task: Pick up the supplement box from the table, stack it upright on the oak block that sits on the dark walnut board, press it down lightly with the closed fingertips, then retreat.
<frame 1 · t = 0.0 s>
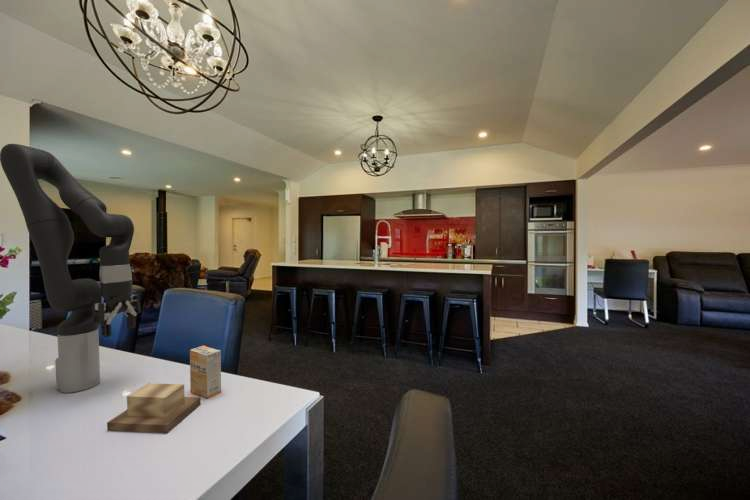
hand: (119, 332, 97), 17 cm above the table, tool pointing down, fingers open, 8 cm apart
oak block: (157, 409, 82), point 2 cm above the table, touching board
board: (157, 416, 82), on the table
supplement box: (205, 393, 95), on the table
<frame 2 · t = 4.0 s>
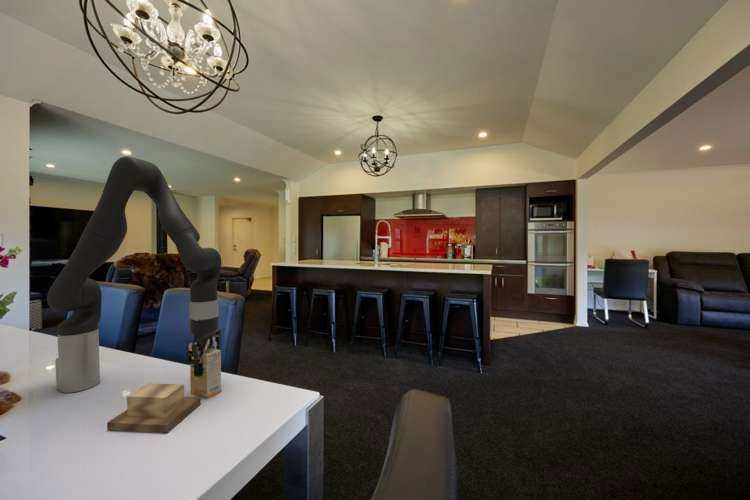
hand: (205, 370, 94), 7 cm above the table, tool pointing down, fingers closed on supplement box, 6 cm apart
supplement box: (205, 393, 95), on the table, touching gripper
everything else where it was.
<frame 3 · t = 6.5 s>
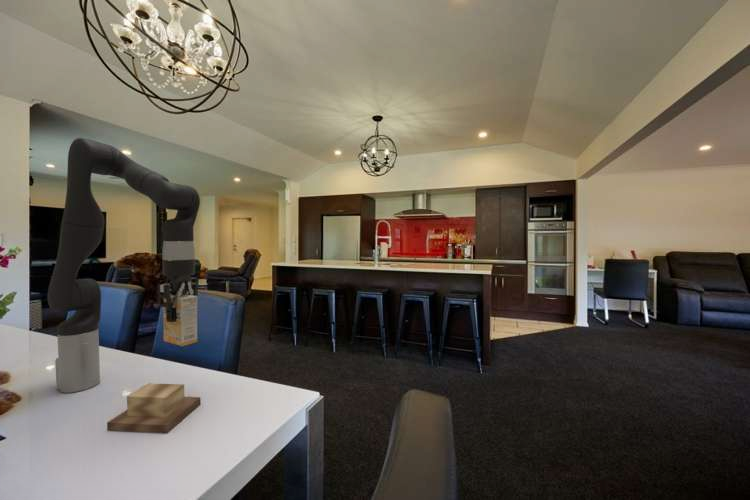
hand: (179, 318, 87), 24 cm above the table, tool pointing down, fingers closed on supplement box, 6 cm apart
supplement box: (180, 342, 87), point 17 cm above the table, touching gripper
everything else where it was.
when the fingers open (15 cm above the table, at t = 9.2 s): supplement box drops 1 cm, resting on oak block.
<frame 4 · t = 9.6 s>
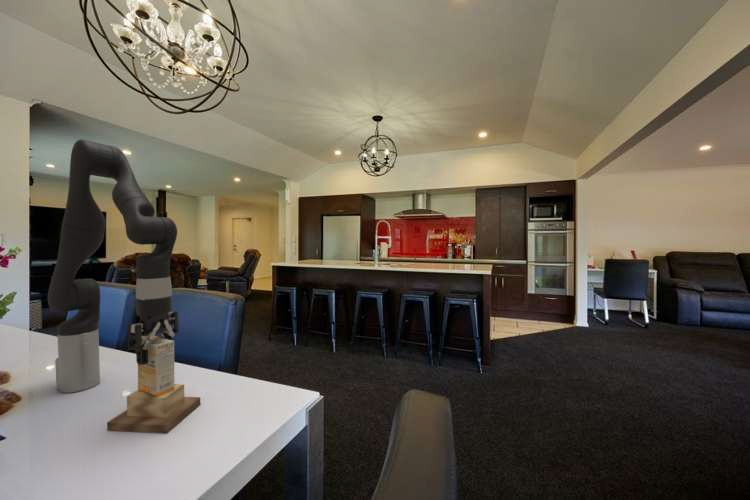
hand: (155, 357, 81), 16 cm above the table, tool pointing down, fingers open, 8 cm apart
oak block: (157, 409, 82), point 2 cm above the table, touching board, supplement box
supplement box: (156, 390, 82), point 7 cm above the table, touching oak block
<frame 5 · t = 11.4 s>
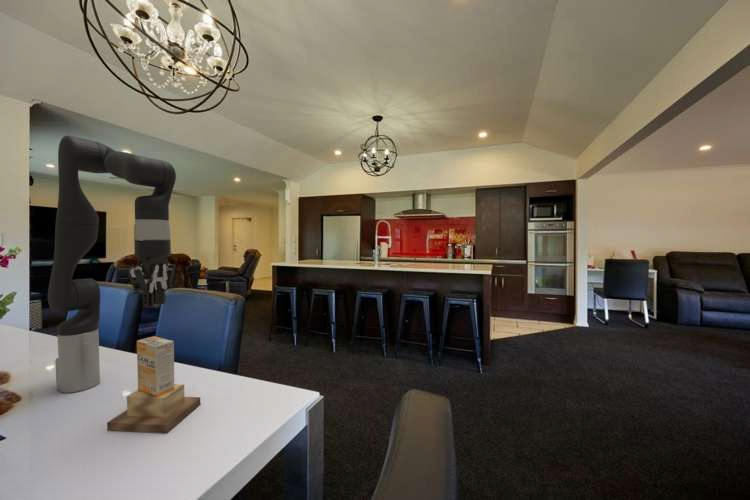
hand: (154, 305, 81), 29 cm above the table, tool pointing down, fingers open, 3 cm apart
nothing on the table moved.
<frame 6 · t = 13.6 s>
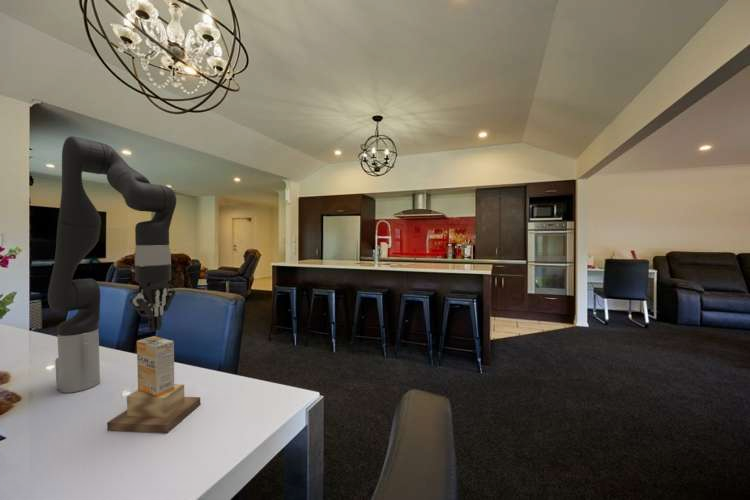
hand: (155, 330, 81), 23 cm above the table, tool pointing down, fingers closed
nothing on the table moved.
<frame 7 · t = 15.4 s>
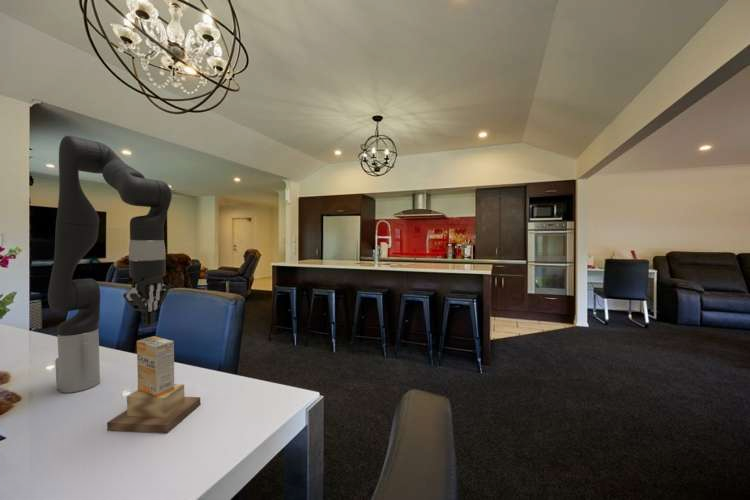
hand: (148, 325, 81), 24 cm above the table, tool pointing down, fingers closed
nothing on the table moved.
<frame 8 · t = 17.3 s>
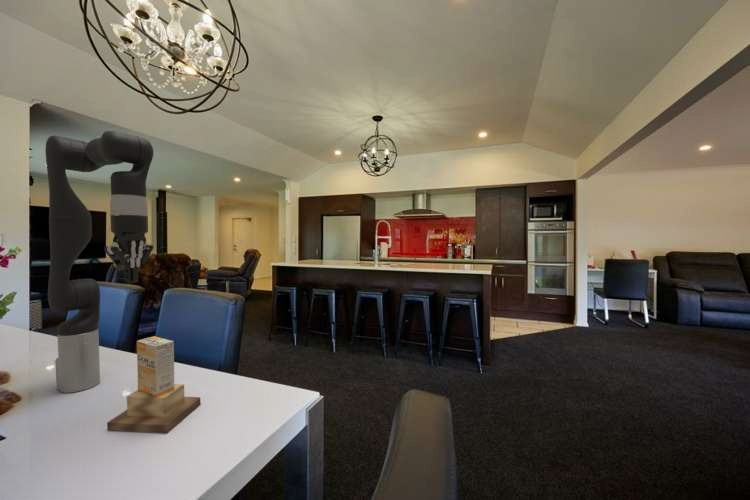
hand: (131, 282, 81), 35 cm above the table, tool pointing down, fingers closed
nothing on the table moved.
at the end: supplement box 0.1 cm off-centre on the oak block, point 4.8 cm above the oak block's base; supplement box tilted 0°; the gripper is holding nothing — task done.
